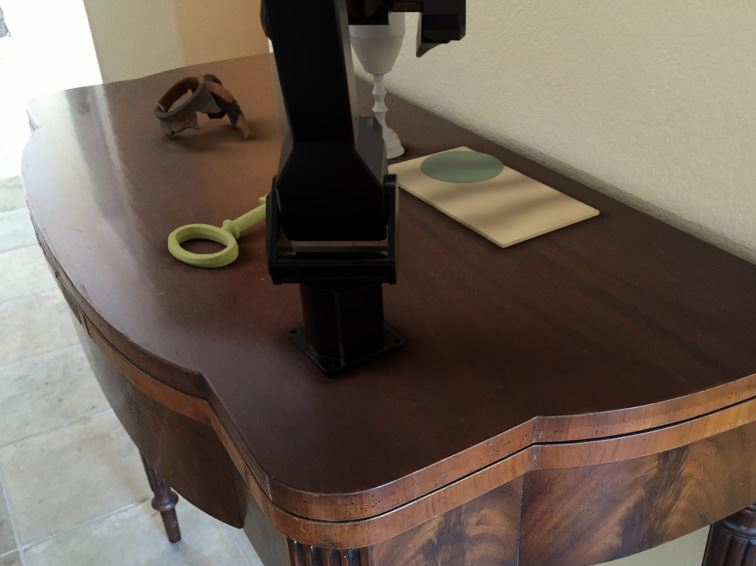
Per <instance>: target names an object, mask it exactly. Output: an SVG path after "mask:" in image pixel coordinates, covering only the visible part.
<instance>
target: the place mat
mask: <svg viewBox="0 0 756 566" xmlns="http://www.w3.org/2000/svg"><path fill="white" fill-rule="evenodd" d="M388 172H389V174H397V176H398V188H401V189H402V190H404V191H406V192H407V193H409V194H411V195H412V196H414V197H416V198H418V200H419V199H420V200H421V201H423V202H424V203H426V204H428V205H429V206H431V207H433V208H434V209H436V210H438V211H440V212H441V213H443V214H445V215H446V216H448V217H450V218H451V219H453V220H455V221H457V222H458V223H460V224H461V225H463V226H464V227H466V228H468V229H470V230H472V231H473V232H474V233H476V234H478V235H480V236H482V237H484V238H485V239H487V240H489V241H490V242H492V243H494V244H496V245H497V246H498V247H501V248H502V249H503V248H507V247H510V246H514V245H516V244H519V243H521V242H524V241H527V240H531V239H534V238H535V237H539V236H542V235H545V234H548V233H550V232H553V231H555V230H558V229H561V228H565V227H567V226H570V225H573V224H576V223H579V222H582V221H585V220H589V219H590V218H593V217H596V216H599V215H600V210H598V209H596V208H594V207H592V206H590V205H588V204H586V203H583V202H581V201H580V200H577V199H575V198H573V197H571V196H569V195H567V194H565V193H563V192H561V191H558V190H556V189H555V188H552V187H550V186H548V185H546V184H544V183H542V182H541V181H538V180H537V179H534V178H532V177H530V176H527V175H525V174H523V173H521V172H519V171H517V170H515V169H513V168H510V167H509V166H506V165H504V164H503V162H502V161H501V160H500V159H499V158H497V157H496V156H493V155H491V154H488V153H484V152H479V151H475V150H473V149H472V148H470V147H467V146H466V145H465V146H464V145H461V146H459V147H455V148H451V149H447V150H444V151H443V150H442V151H439V152H435V153H432V154H428V155H424V156H420V157H416V158H413V159H409V160H405V161H401V162H397V163H394V164H393V163H392V164H388Z"/></svg>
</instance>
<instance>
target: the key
mask: <svg viewBox="0 0 756 566" xmlns="http://www.w3.org/2000/svg"><path fill="white" fill-rule="evenodd" d="M267 194H268V193H265V195H264V196H261V197H259V198H258V202H259V203H260V205H259V206H257V207H255V208H253V209H252V210H250V211H248V212H247V213H245V214H243V215H241V216H239V217H237V218H236V219H234V220H231V219H225V220H224V221H223V222H222V226H221V227H218V226H216V225H211V224H205V223H191V224H190V223H189V224H186V225H182V226H180V227H178V228H175V229H174V230H173V231H171V232H170V233H169V235H168V238H167V249H168V251H169V252H170V253H171V255H172V256H173V257H174V258H176V259H177V260H179V261H180V262H183V263H184V264H188V265H190V266H194V267H200V268H212V269H213V268H220V267H224V266H227V265H229V264H231V263H233V262H234V261H236V259H238V256H239V246H238V245H239V244H238V242H237V239H239V238H240V233H241V232H243V231H245V230H247V229H248V228H250V227H252V226H254V225H256V224H257V223H259V222H261V221H263V220H264V219H265V216H266V195H267ZM192 239H205V240H206V239H207V240H211V241H214V242H217V243H220V244H222V245H224V246H225V248H224V249H223V250H220V251H218V252H215V253H206V254H201V253H200V254H199V253H195V252H190V251H188V250H186V249H184V248H182V247H181V245H180V244H182V243H183V242H186V241H188V240H192Z"/></svg>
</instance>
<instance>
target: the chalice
mask: <svg viewBox="0 0 756 566" xmlns="http://www.w3.org/2000/svg"><path fill="white" fill-rule="evenodd" d="M349 33H350V42H351V49H352V51H353V52H354V54H355V56H356V58H357V59H358V61H359V63H360V65H361V67H362V69H363V71H364V72H365V73H367V74H370V75H372V77H373V81H374V82H373V83H374V84H373V89H372V91H371V94H372V96H373V98H374V100H375V102H374V106H373V107H372V108H371V111H372V112H373V113H374V115H375V117H376V118H377V120H378V121H379V123H380V124H381V126H382V128H383V139H384V141H385V143H386V153H387V160H389V159H394V158H397V157H400V156H402V155H403V154H404V153H405V149H404V147H403V145H402V141H401V140H400V139H399V136H398V134H397V132H396V131H394V129H392V128H389V126H388V125H387V124H386V113H387V112H388V111H389V108H388V107H387V106H386V103H385V97H386V95H387V90H386V89H385V85H384V76H385V75H387V74H389V73H390V72H392V70H393V67H394V65H395V63H396V61H397V58H398V56H399V55H400V53H401V49H402V45H403V42H404V38H405V35H406V12H391V13H390V20H389V25H349Z"/></svg>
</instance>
